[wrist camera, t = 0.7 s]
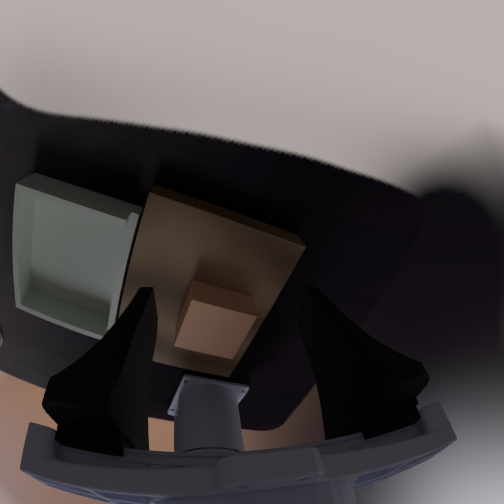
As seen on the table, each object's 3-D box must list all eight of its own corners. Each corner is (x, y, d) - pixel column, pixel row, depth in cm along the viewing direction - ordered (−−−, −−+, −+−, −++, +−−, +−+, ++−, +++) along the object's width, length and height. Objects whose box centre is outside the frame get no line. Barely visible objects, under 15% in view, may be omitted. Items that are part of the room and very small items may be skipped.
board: (227, 362, 30) (228, 377, 28) (117, 335, 26) (113, 349, 25) (298, 235, 24) (305, 247, 22) (154, 184, 20) (149, 192, 18)
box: (116, 320, 26) (109, 342, 23) (28, 288, 23) (16, 307, 20) (143, 207, 21) (134, 223, 18) (35, 172, 18) (15, 183, 15)
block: (229, 338, 26) (232, 358, 23) (175, 325, 24) (173, 346, 22) (252, 296, 24) (257, 316, 22) (193, 279, 22) (191, 299, 20)
